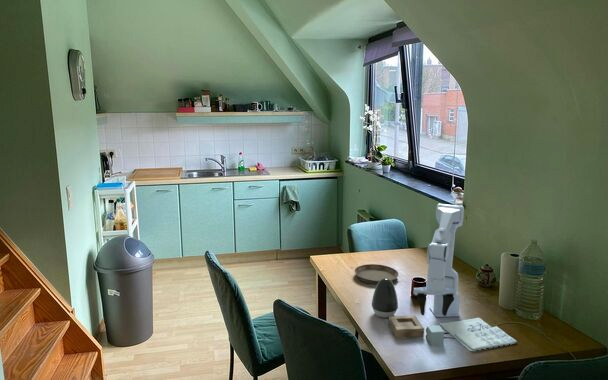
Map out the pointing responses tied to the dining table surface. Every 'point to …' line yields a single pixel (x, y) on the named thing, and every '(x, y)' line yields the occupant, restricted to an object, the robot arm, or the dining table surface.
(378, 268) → the plant saucer
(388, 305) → the dark grey egg shape
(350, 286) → the dining table surface
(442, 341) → the blue block
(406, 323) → the square wooden tray
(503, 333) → the paper napkin stack
